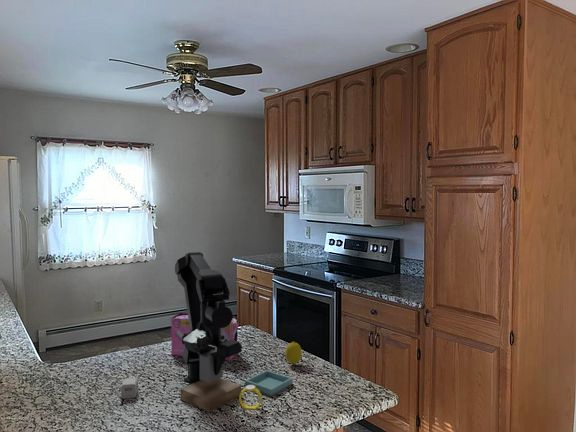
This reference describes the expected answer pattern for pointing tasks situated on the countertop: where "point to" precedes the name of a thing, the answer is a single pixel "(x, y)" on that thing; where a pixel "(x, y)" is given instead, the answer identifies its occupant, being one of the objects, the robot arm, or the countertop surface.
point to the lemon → (293, 353)
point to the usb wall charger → (129, 388)
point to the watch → (249, 389)
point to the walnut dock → (210, 393)
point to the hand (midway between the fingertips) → (211, 372)
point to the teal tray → (269, 382)
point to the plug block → (208, 368)
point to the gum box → (182, 326)
